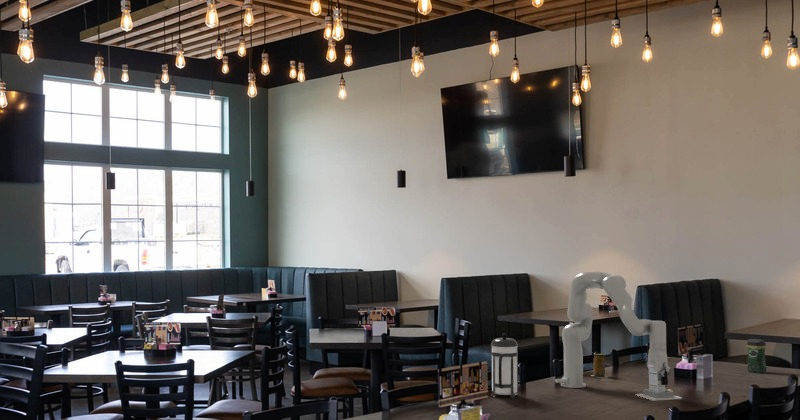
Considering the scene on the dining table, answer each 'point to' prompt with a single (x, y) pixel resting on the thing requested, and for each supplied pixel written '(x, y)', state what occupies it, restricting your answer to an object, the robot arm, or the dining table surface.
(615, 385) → the dining table surface
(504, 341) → the coffee press
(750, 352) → the coffee jar
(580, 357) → the robot arm
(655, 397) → the chassis plate
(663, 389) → the syrup box
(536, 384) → the dining table surface
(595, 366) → the condiment
